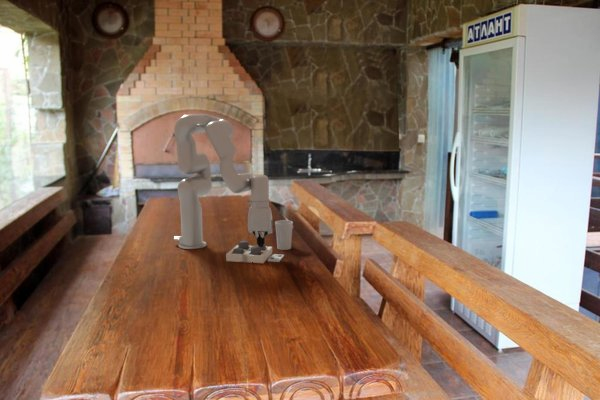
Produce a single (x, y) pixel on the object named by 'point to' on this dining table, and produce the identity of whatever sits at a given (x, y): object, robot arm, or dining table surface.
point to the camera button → (238, 251)
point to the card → (275, 258)
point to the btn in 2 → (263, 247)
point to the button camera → (255, 250)
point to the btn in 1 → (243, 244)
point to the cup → (284, 234)
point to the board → (249, 255)
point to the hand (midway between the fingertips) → (260, 246)
